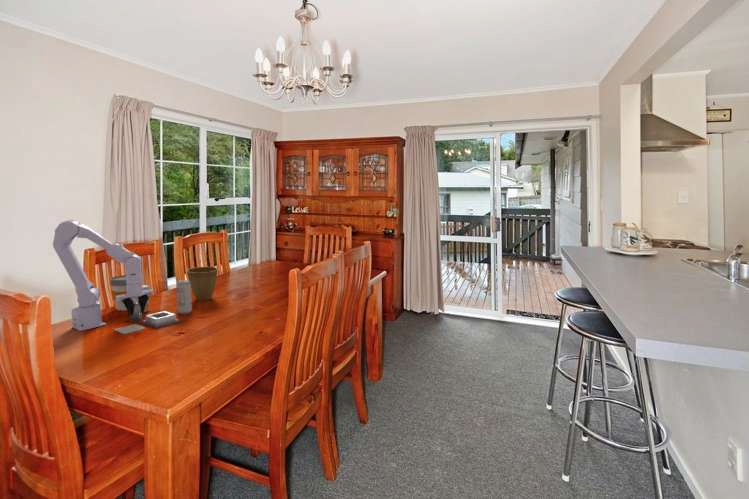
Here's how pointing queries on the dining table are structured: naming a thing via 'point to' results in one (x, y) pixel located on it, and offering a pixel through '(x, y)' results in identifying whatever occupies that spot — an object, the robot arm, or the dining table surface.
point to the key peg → (136, 312)
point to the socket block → (160, 319)
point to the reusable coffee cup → (119, 290)
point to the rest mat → (129, 329)
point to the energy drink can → (184, 297)
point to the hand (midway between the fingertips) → (136, 313)
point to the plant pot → (203, 281)
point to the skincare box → (147, 307)
